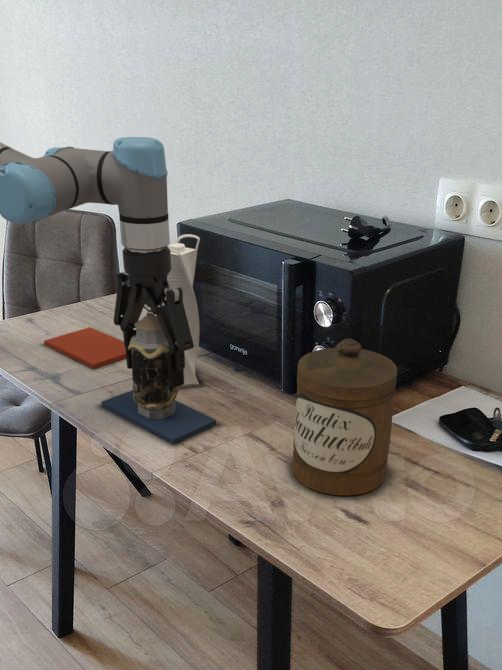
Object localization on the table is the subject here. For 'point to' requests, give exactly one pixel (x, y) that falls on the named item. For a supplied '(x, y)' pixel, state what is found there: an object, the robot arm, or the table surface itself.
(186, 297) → the skyscraper
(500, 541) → the table surface
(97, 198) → the robot arm
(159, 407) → the lantern
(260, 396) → the table surface
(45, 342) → the mat terracotta
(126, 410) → the mat blue
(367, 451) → the wooden container
